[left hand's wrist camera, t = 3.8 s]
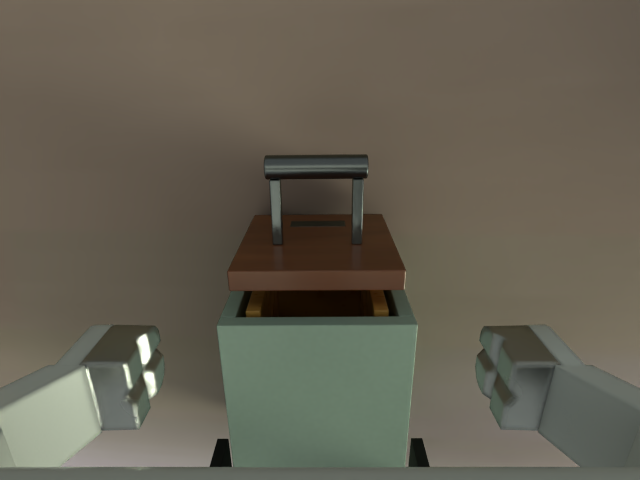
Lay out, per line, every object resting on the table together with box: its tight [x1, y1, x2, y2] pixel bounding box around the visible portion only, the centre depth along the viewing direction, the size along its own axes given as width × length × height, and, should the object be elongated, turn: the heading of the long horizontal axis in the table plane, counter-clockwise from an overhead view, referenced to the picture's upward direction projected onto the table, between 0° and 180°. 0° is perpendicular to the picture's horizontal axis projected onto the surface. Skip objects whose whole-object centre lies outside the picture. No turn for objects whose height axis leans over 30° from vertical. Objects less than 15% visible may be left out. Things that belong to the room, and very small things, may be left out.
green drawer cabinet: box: [217, 290, 418, 467], centre depth 30 cm, size 17×10×11 cm, turn 1°
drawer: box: [227, 154, 406, 317], centre depth 28 cm, size 22×9×9 cm, turn 1°
